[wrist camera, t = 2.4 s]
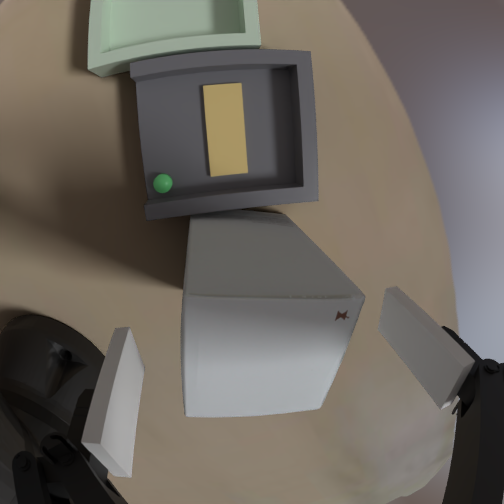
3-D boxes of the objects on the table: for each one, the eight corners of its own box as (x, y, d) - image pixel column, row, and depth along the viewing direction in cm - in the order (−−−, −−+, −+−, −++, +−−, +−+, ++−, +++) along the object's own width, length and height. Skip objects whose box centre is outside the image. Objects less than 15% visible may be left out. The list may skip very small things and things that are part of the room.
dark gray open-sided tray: (154, 207, 20) (146, 221, 17) (141, 74, 17) (129, 62, 13) (300, 190, 22) (318, 200, 19) (293, 63, 18) (310, 51, 15)
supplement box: (190, 203, 21) (180, 289, 9) (287, 212, 22) (374, 294, 11) (184, 292, 23) (181, 420, 12) (271, 296, 25) (323, 412, 14)
